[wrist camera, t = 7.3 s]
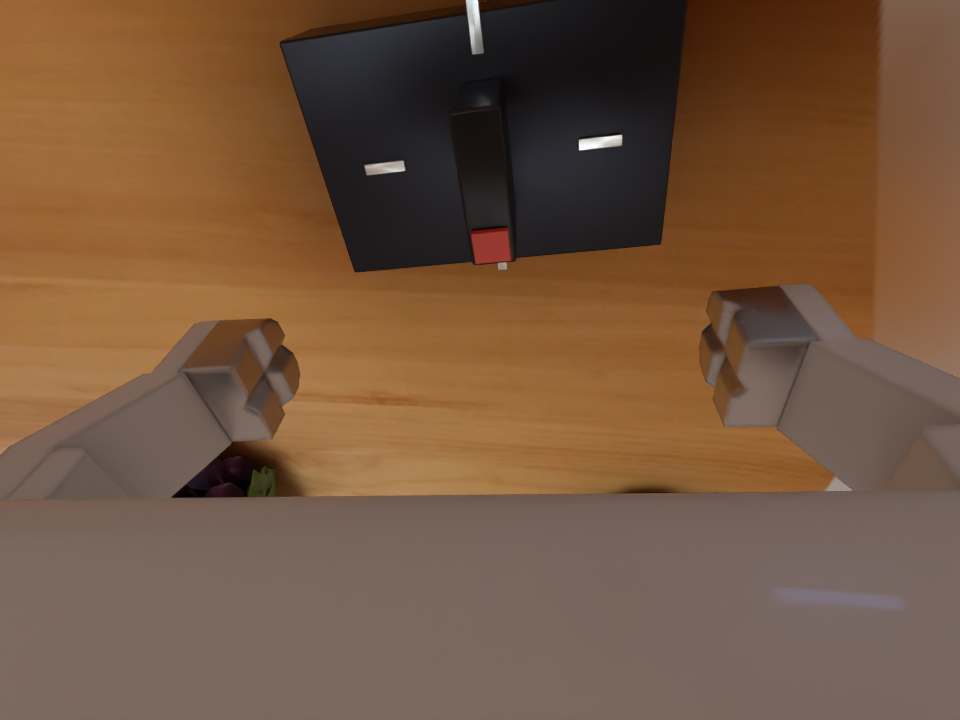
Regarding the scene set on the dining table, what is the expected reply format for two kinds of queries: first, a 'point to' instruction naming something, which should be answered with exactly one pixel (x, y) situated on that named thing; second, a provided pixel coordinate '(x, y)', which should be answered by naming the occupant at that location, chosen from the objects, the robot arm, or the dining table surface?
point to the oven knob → (484, 170)
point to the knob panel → (530, 115)
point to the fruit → (230, 481)
